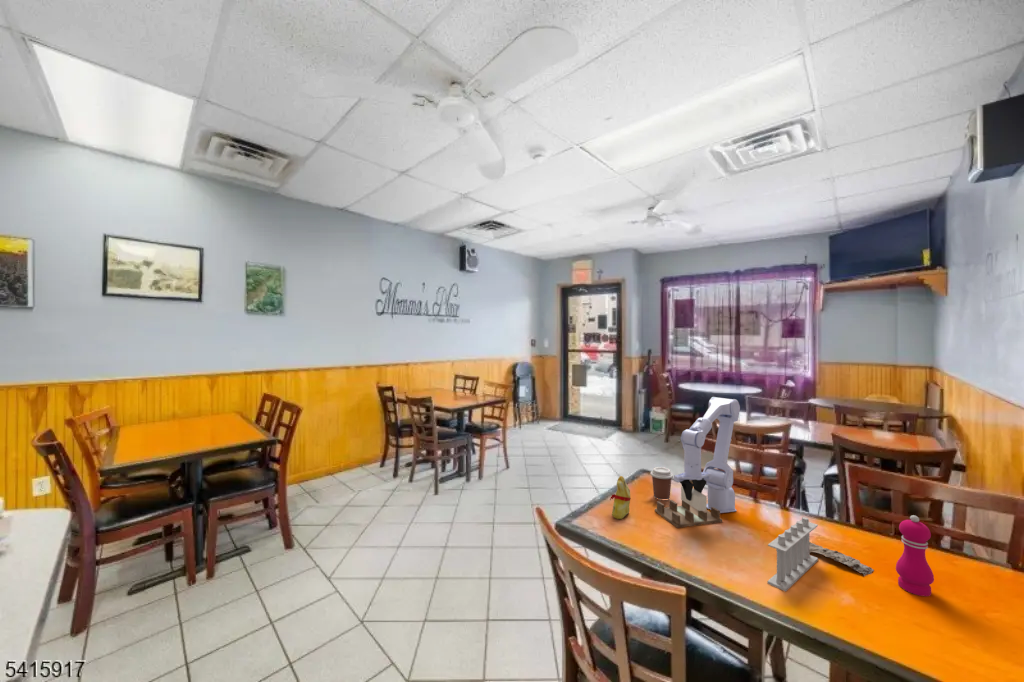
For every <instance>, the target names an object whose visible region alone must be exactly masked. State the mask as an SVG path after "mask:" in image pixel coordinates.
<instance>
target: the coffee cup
mask: <svg viewBox="0 0 1024 682" xmlns="http://www.w3.org/2000/svg"><path fill="white" fill-rule="evenodd" d="M650 475H651V478H652V490H653V498H654V497H655V498H658V499H669V498H670V499H671V486H672V479H674V473H672V472H671V470H670V468H667V467H663V466H656V467H654V468H652V470H650ZM655 498H654V499H655ZM670 499H669V500H670Z"/></svg>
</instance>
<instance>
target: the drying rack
mask: <svg viewBox="0 0 1024 682" xmlns="http://www.w3.org/2000/svg"><path fill="white" fill-rule="evenodd" d="M668 503H669V504H668V505H669V506H668V507H665V504H664V503H662V501H660V500H658V501H656V508H654V512H655V513H656V512H657V513H656V514H657V515H659V516H660V515H661V516H660V517H661V518H663V517H664V518H663V519H664V520H666V521H667V522H668V523H669V524H671V525H673V526H674V527H675V528H677V529H679V528H680V527H681V528H687V526H689V527H695V526H694V525H696V526H702V525H701V524H704V525H711V524H710V523H712V524H717V523H718V522H719V523H723V519H722V518H721V513H720V511H719V510H718V509H716V508H714V507H711V510H710V511H709V509H708V510H703V511H699V510H697V509H696V508H694V507H692V506H691V505H689V504H687V503H686V502H684V501H683V500H681V505H678V502H676V501H675V500H673V499H669V500H668ZM681 528H680V529H681Z"/></svg>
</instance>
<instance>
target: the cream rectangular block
mask: <svg viewBox="0 0 1024 682" xmlns="http://www.w3.org/2000/svg"><path fill="white" fill-rule="evenodd" d="M680 499H681V501H682V500H683V501H684V502H686V503H687V504H689V505H691V506H692V507H694V508H696V509H697V510H699V511H703V510H707V509H708V508H707V504H708V495H705V494H703V492H702V493H700V492H698V491H696V490H695V489H694V488H693V489H692V499H691V501H689V500H687V499H686V496H685V492H684V489H683V487H682V485H681V486H680Z"/></svg>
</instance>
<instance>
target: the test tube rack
mask: <svg viewBox="0 0 1024 682" xmlns="http://www.w3.org/2000/svg"><path fill="white" fill-rule="evenodd" d="M818 526H819V525H818V524H816V523H813V522H811V521H809V518H808V517H805V516H804V517H802V518H801V519H800V520H797V521H796V523H795V524H794V525H792V524H791V525H790V528H788V529H785V530H784V532H783V533H781V534H778V536H777V537H776V538H775V539H773V540H772V541H771V542H769V543H768V544H767V546H768V547H770V548H772V549H775V550H776V573H775V574H774V575H773V576H772V577H770V578H769V579H768V580H767V584H768V585H770V586H772V587H774V588H777V589H779V590H781V591H784V592H787V591H788V590H789V589H790V588H791V587H792V586H793V585H794V584H795V583H796V582H797V581H799V579H801V577H803V575H804V574H806V573H807V572H808V571H809V570H810V569H811V567H813V566H814V565H815V564H816V563H817V562H818V561H819V558H818V557H816V556H814V555H811V552H809V542H810V533H811V532H813V531H814V529H816V528H817V527H818Z"/></svg>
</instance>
